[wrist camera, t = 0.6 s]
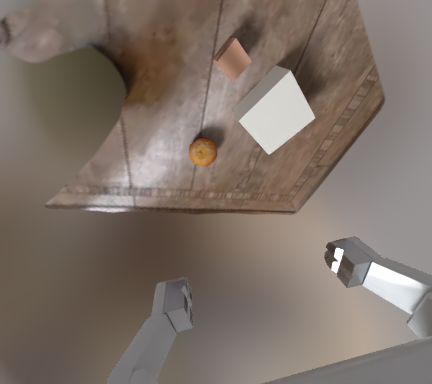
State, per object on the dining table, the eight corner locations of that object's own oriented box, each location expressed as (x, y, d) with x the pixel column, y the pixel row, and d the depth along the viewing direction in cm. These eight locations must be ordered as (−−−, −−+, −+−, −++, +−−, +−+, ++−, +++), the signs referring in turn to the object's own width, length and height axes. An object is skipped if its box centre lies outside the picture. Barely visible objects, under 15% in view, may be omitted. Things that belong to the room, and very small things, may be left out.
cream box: (275, 65, 41) (290, 70, 36) (299, 107, 49) (315, 117, 44) (231, 109, 47) (238, 120, 41) (259, 141, 55) (269, 155, 49)
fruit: (203, 168, 56) (197, 173, 49) (189, 147, 55) (181, 149, 48) (224, 154, 54) (220, 157, 47) (210, 132, 53) (204, 131, 45)
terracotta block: (229, 37, 37) (236, 38, 32) (243, 58, 39) (251, 61, 35) (213, 58, 39) (217, 61, 34) (227, 76, 41) (233, 82, 37)
